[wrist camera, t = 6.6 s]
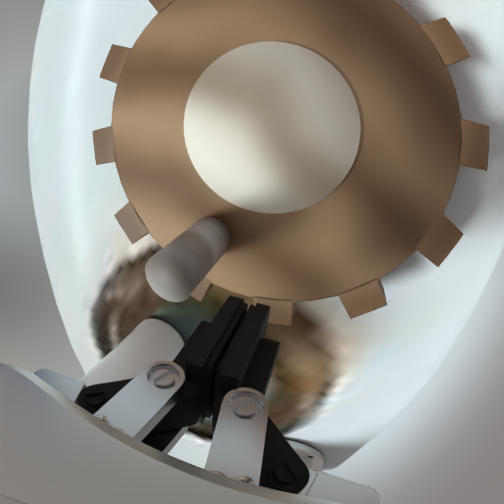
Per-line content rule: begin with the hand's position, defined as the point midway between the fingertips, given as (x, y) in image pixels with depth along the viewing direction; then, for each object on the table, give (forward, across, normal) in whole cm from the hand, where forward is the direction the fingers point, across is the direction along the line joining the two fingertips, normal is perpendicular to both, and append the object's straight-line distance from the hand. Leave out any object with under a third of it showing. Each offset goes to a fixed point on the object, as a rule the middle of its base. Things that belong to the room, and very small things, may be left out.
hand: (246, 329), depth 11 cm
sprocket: (+7, +1, -8) cm, 11 cm away
